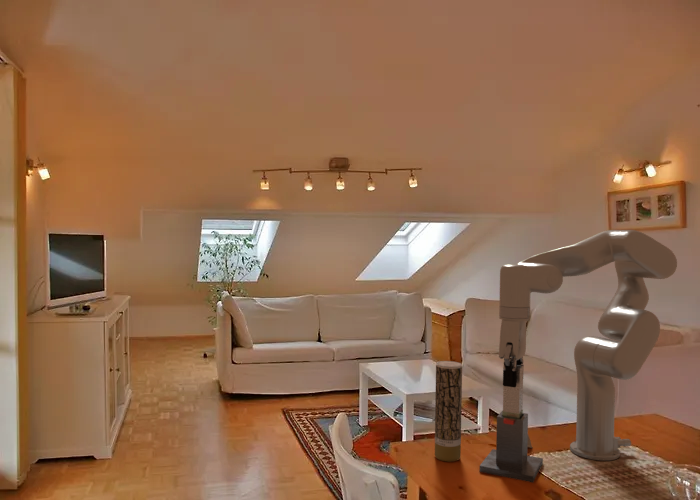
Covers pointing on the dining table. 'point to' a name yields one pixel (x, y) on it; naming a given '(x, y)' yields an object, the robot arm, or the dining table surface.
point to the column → (514, 397)
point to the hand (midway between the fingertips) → (513, 382)
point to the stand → (512, 451)
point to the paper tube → (448, 411)
